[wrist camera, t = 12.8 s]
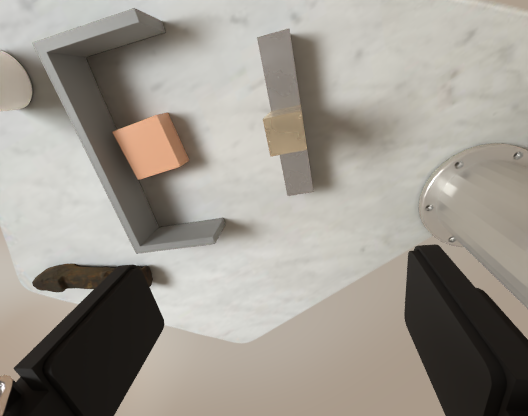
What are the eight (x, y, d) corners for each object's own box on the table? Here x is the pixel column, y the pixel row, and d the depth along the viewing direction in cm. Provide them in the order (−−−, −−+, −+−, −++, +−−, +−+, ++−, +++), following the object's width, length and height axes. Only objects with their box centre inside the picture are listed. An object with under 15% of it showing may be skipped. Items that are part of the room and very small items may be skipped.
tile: (169, 112, 31) (156, 115, 28) (190, 160, 33) (180, 166, 30) (127, 127, 32) (112, 131, 29) (150, 172, 34) (138, 179, 32)
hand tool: (151, 261, 41) (134, 281, 37) (156, 281, 43) (140, 302, 39) (44, 253, 43) (17, 271, 39) (52, 272, 45) (27, 292, 41)
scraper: (290, 34, 26) (286, 7, 17) (312, 182, 32) (317, 220, 23) (261, 42, 27) (242, 20, 18) (288, 186, 33) (284, 225, 24)
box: (162, 21, 27) (134, 8, 22) (225, 224, 36) (214, 243, 32) (73, 49, 29) (31, 42, 24) (155, 233, 38) (136, 253, 34)
